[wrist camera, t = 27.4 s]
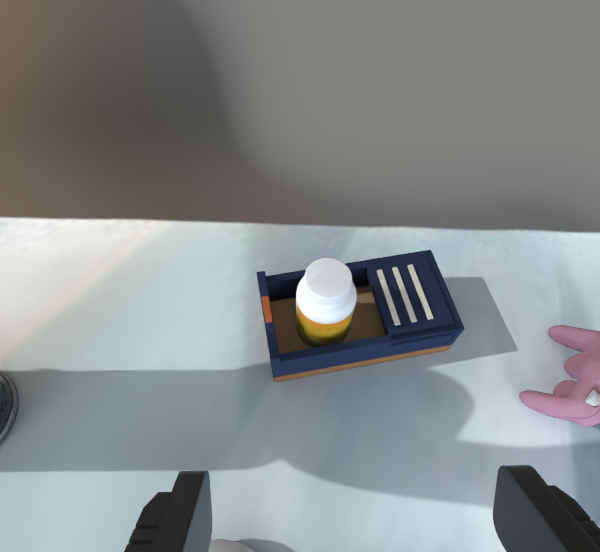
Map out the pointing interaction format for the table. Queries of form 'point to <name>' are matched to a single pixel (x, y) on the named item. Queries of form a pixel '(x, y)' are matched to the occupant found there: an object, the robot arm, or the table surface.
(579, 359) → the video game controller
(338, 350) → the navy storage tray
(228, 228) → the table surface
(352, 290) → the supplement bottle
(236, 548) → the donut
